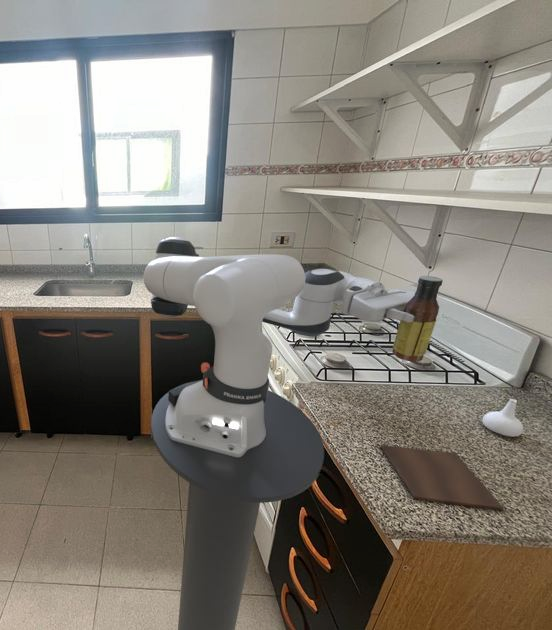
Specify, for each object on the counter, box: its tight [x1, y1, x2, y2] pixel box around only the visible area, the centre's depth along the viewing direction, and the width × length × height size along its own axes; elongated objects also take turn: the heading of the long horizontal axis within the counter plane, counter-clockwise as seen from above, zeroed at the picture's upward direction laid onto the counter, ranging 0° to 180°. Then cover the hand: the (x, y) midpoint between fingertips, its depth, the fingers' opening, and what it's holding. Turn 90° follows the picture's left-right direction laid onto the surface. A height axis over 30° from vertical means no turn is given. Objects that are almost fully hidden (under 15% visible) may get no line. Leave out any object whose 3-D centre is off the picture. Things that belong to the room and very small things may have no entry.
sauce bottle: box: [392, 275, 443, 363], centre depth 80 cm, size 7×6×20 cm
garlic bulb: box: [482, 398, 524, 438], centre depth 77 cm, size 6×6×8 cm
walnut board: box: [380, 445, 505, 511], centre depth 67 cm, size 14×13×1 cm
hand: (424, 316), depth 78 cm, fingers closed on sauce bottle, 6 cm apart
